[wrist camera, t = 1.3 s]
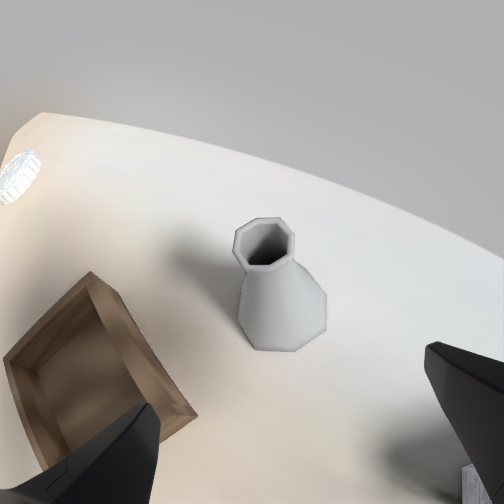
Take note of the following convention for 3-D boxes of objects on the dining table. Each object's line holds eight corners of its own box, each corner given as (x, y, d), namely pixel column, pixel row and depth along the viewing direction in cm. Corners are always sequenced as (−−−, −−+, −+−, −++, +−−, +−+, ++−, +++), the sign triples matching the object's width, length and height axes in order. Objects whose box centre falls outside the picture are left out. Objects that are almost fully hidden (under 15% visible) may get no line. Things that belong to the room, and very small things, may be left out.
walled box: (198, 415, 20) (172, 414, 16) (88, 488, 18) (54, 492, 14) (117, 292, 27) (90, 270, 23) (33, 369, 24) (2, 358, 21)
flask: (229, 281, 26) (187, 209, 17) (313, 257, 25) (309, 173, 17) (247, 364, 22) (204, 329, 13) (340, 338, 22) (359, 285, 13)
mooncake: (-3, 217, 41) (-14, 206, 38) (6, 180, 47) (-3, 169, 44) (40, 182, 42) (28, 169, 39) (45, 148, 48) (36, 136, 45)
